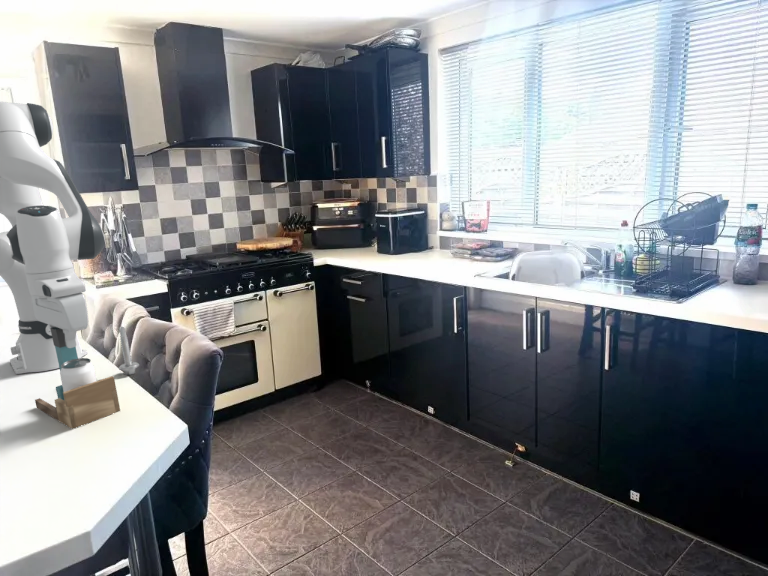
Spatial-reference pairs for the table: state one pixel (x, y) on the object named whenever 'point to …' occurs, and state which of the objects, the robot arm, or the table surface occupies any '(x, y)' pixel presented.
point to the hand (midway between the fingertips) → (65, 344)
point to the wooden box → (84, 403)
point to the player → (62, 353)
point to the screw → (126, 354)
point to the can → (77, 373)
